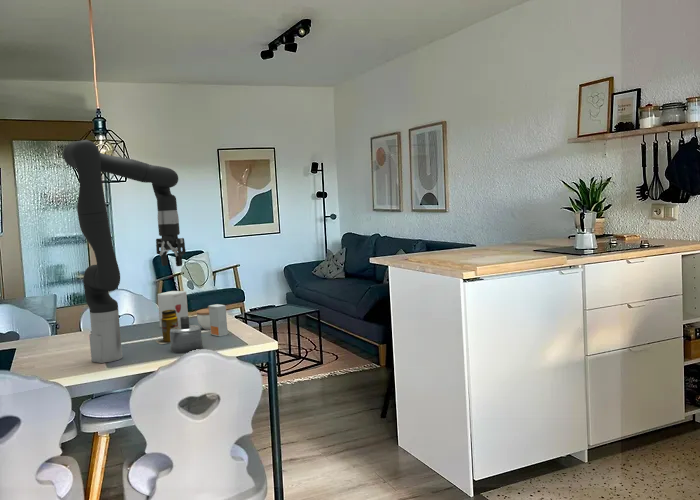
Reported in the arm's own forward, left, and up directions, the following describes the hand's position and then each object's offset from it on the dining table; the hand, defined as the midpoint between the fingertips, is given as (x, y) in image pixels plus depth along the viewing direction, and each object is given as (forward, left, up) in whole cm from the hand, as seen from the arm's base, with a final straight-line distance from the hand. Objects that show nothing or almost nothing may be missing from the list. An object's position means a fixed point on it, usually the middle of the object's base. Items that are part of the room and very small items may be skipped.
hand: (172, 265), depth 230 cm
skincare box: (+17, -4, -30) cm, 35 cm away
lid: (-5, -11, -23) cm, 26 cm away
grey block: (-5, -11, -30) cm, 32 cm away
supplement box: (+22, +30, -30) cm, 48 cm away
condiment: (+1, +7, -30) cm, 31 cm away
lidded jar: (+25, +10, -30) cm, 41 cm away
